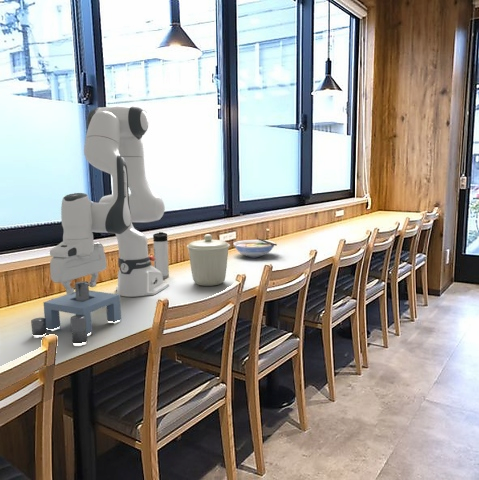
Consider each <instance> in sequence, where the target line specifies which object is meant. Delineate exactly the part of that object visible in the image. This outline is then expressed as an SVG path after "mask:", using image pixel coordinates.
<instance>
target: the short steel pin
mask: <svg viewBox="0 0 479 480" xmlns="http://www.w3.org/2000/svg"><path fill="white" fill-rule="evenodd" d="M30 323H31V326H30V327H31V334H33V335H43V334H45V333H47V334H48V332H47V329H46V318H45V317H35V318H33V319H31V321H30Z"/></svg>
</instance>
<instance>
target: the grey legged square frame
mask: <svg viewBox="0 0 479 480" xmlns="http://www.w3.org/2000/svg"><path fill="white" fill-rule="evenodd" d="M120 296H121V295H118V294H117V293H111V292H104V291H103V292H102V291H95V290H90V289H89V300H86V301H83V302H81V301H76V294H75V291H74V294H71V295H67V294H64V295H61V296H58V297H55V298H53V299H49V300H47V301H43V312H44V313H43V314H44V318H46V328H48V329H54V328H57V327H59V326H60V327H61V318H60V316H61V315H60V312H62V313H67V314H73V315H85V316H86V331H87V334H88V333H90V332H92V333H93V328H92V327H93V326H92V313H93V312H95V311H98V310H100V309H102V308H105V307H106V318H107V320H108V321H113V322H115V321H117V320H120V319H121V320H122V315H121V313H122V311H121V297H120Z"/></svg>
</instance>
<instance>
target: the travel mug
mask: <svg viewBox="0 0 479 480" xmlns="http://www.w3.org/2000/svg"><path fill="white" fill-rule="evenodd" d="M152 237H153V240H152V241H153V256H154V257H155V260H154V261H153V266H154V267H155V268H156V269H158V270H159V271H160V272H161V273H162V277H163V280H165V279H168V278H169V277H170V270H169V268H170V267H169V243H168V242H169V241H168V233H165V232H161V231H159V232H156V233H154V234H153V235H152Z"/></svg>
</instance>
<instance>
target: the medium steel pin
mask: <svg viewBox="0 0 479 480" xmlns="http://www.w3.org/2000/svg"><path fill="white" fill-rule="evenodd" d="M70 328H71V330H70V331H71V343H72V342H73V343H82V342H86V341H87V342H88V337H87V331H86V316H85V315H76V314H74V315H72V316H70Z"/></svg>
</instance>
